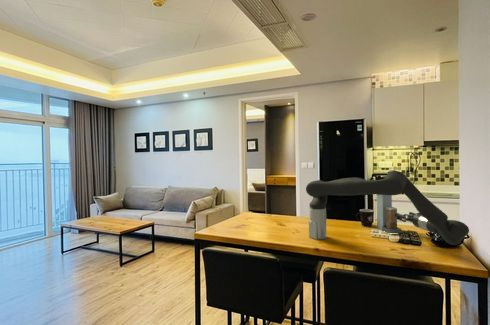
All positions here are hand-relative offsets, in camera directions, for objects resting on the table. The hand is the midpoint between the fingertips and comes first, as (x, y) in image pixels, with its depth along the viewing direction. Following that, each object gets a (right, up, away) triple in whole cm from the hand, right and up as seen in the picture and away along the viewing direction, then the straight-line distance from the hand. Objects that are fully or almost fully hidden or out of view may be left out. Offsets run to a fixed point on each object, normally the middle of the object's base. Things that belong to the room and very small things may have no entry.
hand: (402, 214), depth 149 cm
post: (0, -13, +18) cm, 22 cm away
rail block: (0, -13, +11) cm, 17 cm away
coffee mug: (-9, -13, +28) cm, 32 cm away
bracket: (0, -13, +11) cm, 17 cm away
